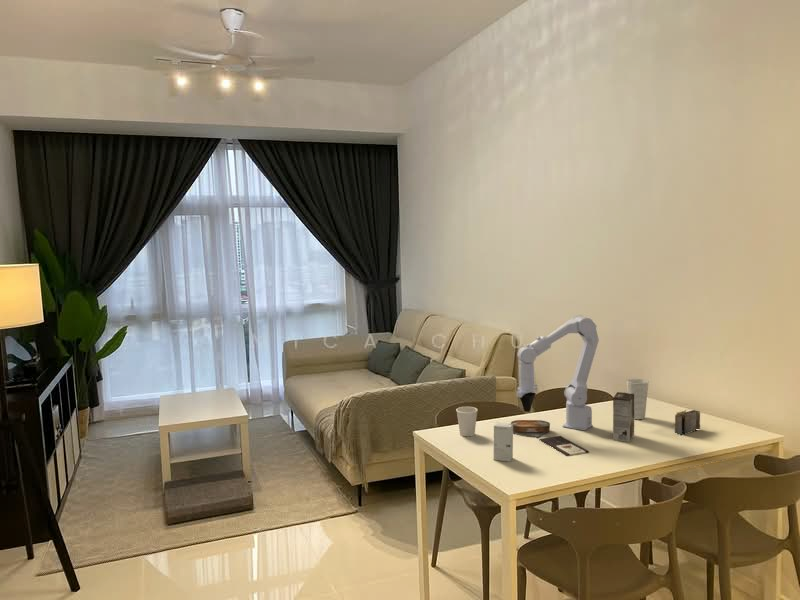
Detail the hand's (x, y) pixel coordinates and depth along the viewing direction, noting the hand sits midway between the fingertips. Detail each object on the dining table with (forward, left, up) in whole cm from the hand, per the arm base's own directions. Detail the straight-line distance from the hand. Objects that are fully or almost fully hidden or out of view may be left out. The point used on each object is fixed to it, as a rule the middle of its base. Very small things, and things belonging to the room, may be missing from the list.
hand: (527, 411), depth 238 cm
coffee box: (-35, -9, -7) cm, 37 cm away
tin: (0, -1, -5) cm, 5 cm away
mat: (0, +5, -7) cm, 8 cm away
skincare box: (-8, +35, -7) cm, 37 cm away
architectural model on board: (-53, -28, -8) cm, 60 cm away
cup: (-32, -37, -7) cm, 49 cm away
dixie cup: (+16, +19, -7) cm, 26 cm away
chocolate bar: (-20, +12, -8) cm, 25 cm away
